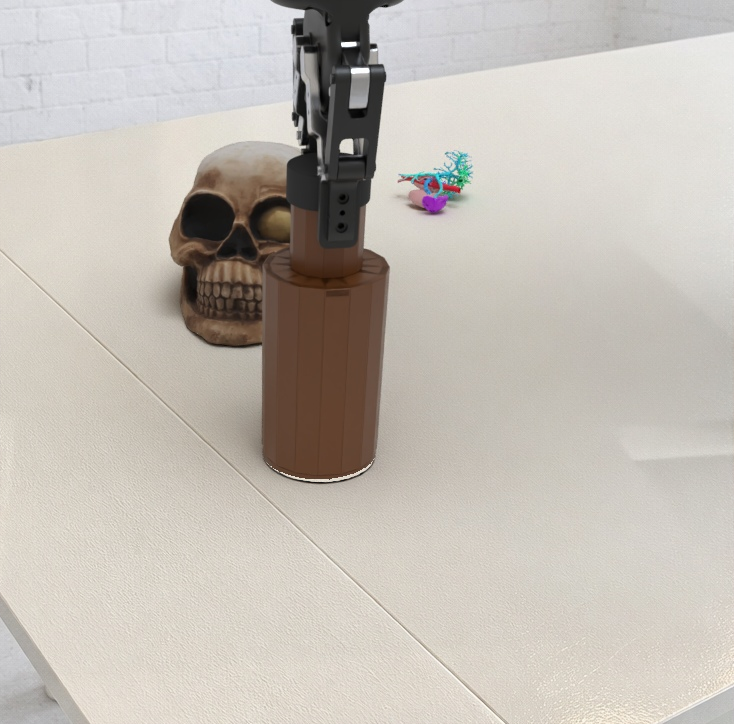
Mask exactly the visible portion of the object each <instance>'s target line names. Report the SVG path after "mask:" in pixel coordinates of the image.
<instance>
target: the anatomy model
mask: <svg viewBox="0 0 734 724" xmlns="http://www.w3.org/2000/svg"><path fill="white" fill-rule="evenodd" d="M455 152H457V153H455ZM449 154H451V155H450V156H449ZM468 154H469V153H468V152H466V153H464V152H461V151H460V150H457V149H456V150H453V151H450V152H449V151H446V152H444V156H446V158H448V160H449V161H450V160H451V161H452V162H453V163H454V165H455V167H454V168H452V166H453V163H452V162H450V165H449V166H448V165H446V161H443V166H444V167H445V169H447V170H445V169H442V167H441V166H440V168H436V167H434V168H433V171H437V172H436V173H434V172H424V171H419V172H418V173H413V174H411V173H410V174H404V173H398V176H399V177H400V179H397V184H398V183H401V182H410V183H411V184H412V185H414V187H416V188H417V189H413V190H411V191H409V192H408V194H407V195H408V199H409V201H410V202H411V203H412V204H414V205H416V206H417V207H419V208H422V209H425V210H426V211H428V212H429V213H432V214H434V213H437V212H440V211H441V210H442V209H444V208H445V207H446V205H447V202H448V199H455V197H453V195H455V196H457V197H460V195H459V194H461V193H462V192H461V191H463V190H464V187H465V184H470V185H471V184H472V183H471V182H472V180H473V178H474V177H473V176H472V175H474V171H471V169H472V168H473V167H474V165H473V163H471V164H468V163H467V162H472V161H473V159H470V160H468V158H471V156H470V155H468ZM451 168H452V170H451ZM440 171H441V172H440ZM455 171H457V172H456V174H454V173H455ZM469 178H471V179H472V180H469ZM443 179H444V180H443Z"/></svg>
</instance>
